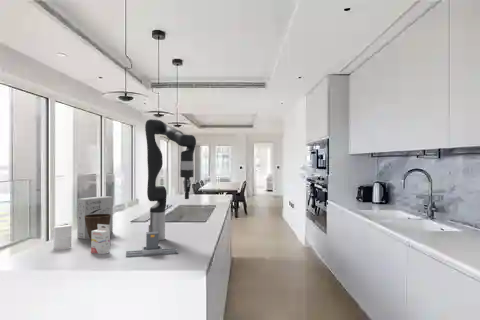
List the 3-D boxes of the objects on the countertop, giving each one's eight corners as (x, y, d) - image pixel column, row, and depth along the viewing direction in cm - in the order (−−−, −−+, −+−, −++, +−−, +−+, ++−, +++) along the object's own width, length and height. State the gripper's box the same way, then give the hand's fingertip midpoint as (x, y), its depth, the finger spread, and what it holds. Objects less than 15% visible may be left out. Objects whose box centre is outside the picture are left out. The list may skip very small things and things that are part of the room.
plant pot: (78, 242, 210) (78, 216, 210) (99, 238, 223) (99, 213, 223) (96, 245, 203) (96, 217, 203) (116, 240, 216) (116, 214, 216)
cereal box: (84, 239, 220) (85, 199, 220) (77, 237, 224) (77, 198, 224) (112, 233, 239) (113, 196, 239) (105, 232, 243) (105, 196, 243)
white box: (68, 244, 205) (68, 224, 205) (73, 247, 198) (73, 226, 198) (51, 247, 198) (51, 226, 199) (56, 250, 192) (56, 228, 192)
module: (157, 250, 189) (157, 231, 189) (158, 252, 184) (158, 233, 184) (146, 251, 187) (146, 232, 187) (146, 253, 182) (146, 234, 182)
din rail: (175, 249, 194) (175, 244, 194) (177, 253, 185) (177, 248, 185) (126, 252, 186) (126, 247, 186) (125, 257, 178) (126, 251, 178)
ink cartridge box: (90, 253, 186) (90, 225, 186) (97, 250, 191) (97, 223, 191) (103, 254, 183) (103, 226, 184) (110, 252, 188) (110, 224, 188)
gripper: (179, 168, 209) (178, 198, 208) (181, 169, 196) (181, 200, 196) (191, 168, 211) (191, 197, 211) (195, 169, 198) (195, 200, 198)
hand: (186, 199), depth 203 cm, fingers closed
